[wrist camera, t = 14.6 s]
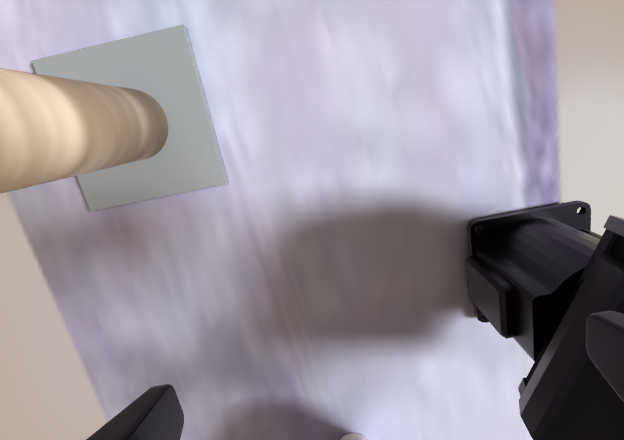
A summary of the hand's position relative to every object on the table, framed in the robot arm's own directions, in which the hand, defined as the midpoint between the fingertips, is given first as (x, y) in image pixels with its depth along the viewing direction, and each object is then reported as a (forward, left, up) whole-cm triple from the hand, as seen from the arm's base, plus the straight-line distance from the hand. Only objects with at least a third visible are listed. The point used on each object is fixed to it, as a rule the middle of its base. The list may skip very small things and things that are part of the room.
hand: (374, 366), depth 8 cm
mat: (+10, -7, -13) cm, 18 cm away
